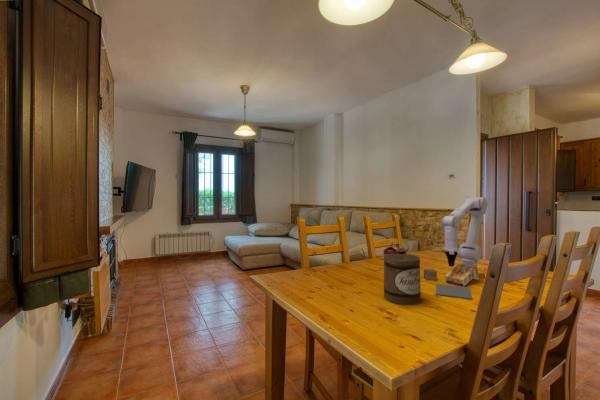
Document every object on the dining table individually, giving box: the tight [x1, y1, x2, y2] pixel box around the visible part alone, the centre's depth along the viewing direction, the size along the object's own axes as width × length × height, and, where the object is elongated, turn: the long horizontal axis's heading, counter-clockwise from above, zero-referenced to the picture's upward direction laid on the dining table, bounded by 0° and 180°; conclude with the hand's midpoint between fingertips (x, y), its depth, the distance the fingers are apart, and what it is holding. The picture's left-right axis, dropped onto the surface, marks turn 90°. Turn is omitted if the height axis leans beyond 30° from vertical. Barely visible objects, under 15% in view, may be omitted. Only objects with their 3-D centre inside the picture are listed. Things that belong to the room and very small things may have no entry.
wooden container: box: [383, 247, 422, 306], centre depth 121 cm, size 15×15×22 cm
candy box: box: [444, 262, 479, 287], centre depth 142 cm, size 9×4×15 cm
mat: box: [435, 283, 473, 301], centre depth 129 cm, size 16×14×1 cm
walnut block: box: [423, 268, 438, 282], centre depth 149 cm, size 5×5×5 cm
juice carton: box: [383, 241, 400, 257], centre depth 135 cm, size 7×7×22 cm
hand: (451, 266), depth 142 cm, fingers closed
